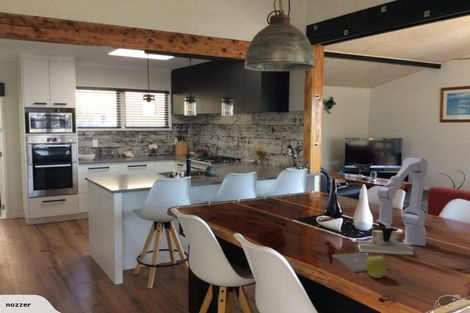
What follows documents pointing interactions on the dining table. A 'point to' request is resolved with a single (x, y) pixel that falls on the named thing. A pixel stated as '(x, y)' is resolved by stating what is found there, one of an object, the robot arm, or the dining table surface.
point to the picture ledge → (385, 248)
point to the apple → (376, 266)
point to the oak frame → (378, 239)
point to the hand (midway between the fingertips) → (385, 239)
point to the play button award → (353, 261)
